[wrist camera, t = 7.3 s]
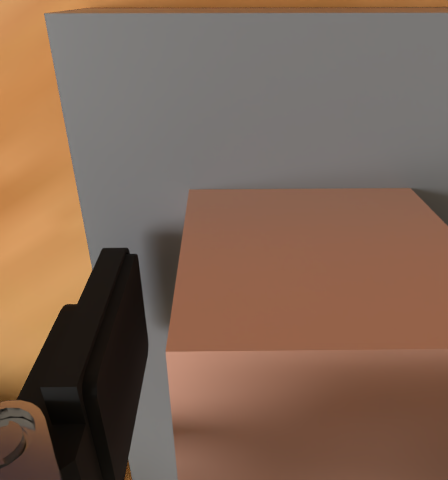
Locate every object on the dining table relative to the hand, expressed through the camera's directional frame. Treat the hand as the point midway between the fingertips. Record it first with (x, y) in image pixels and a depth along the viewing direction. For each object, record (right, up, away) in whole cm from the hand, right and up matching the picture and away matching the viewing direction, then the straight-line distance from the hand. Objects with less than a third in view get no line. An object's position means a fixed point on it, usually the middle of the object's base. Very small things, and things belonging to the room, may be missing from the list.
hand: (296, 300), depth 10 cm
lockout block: (0, 0, +1) cm, 1 cm away
